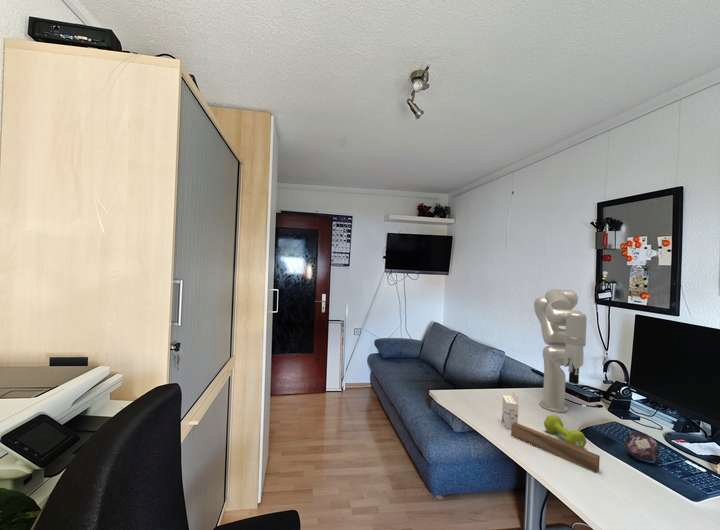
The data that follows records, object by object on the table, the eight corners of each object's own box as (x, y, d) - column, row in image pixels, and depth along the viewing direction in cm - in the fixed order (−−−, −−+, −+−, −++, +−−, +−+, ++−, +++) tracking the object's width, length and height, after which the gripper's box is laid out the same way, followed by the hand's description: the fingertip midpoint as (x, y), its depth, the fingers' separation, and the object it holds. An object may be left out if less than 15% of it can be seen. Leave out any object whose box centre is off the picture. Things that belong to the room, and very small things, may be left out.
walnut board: (514, 433, 138) (514, 422, 138) (599, 469, 115) (599, 455, 115) (511, 435, 136) (511, 424, 136) (596, 472, 113) (597, 458, 113)
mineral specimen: (616, 449, 125) (622, 424, 126) (631, 456, 128) (637, 431, 130) (646, 464, 116) (653, 436, 117) (661, 470, 119) (668, 443, 121)
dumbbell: (588, 452, 126) (589, 433, 126) (569, 452, 125) (570, 433, 125) (558, 430, 143) (559, 414, 143) (541, 430, 142) (542, 414, 142)
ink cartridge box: (501, 419, 150) (502, 388, 150) (512, 421, 149) (513, 389, 149) (505, 428, 142) (506, 395, 142) (517, 430, 141) (519, 396, 141)
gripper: (571, 337, 148) (569, 377, 148) (559, 341, 138) (557, 384, 138) (590, 340, 142) (589, 382, 142) (579, 345, 132) (578, 389, 132)
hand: (573, 383), depth 140 cm, fingers closed
